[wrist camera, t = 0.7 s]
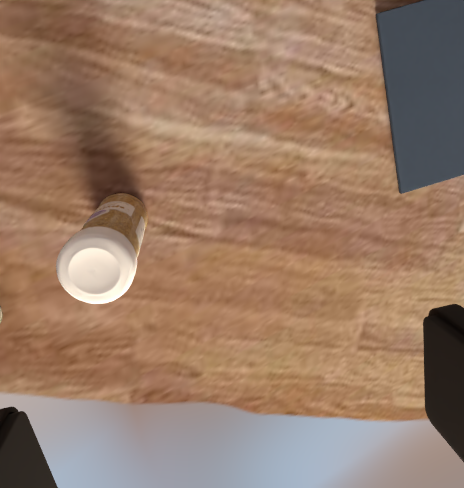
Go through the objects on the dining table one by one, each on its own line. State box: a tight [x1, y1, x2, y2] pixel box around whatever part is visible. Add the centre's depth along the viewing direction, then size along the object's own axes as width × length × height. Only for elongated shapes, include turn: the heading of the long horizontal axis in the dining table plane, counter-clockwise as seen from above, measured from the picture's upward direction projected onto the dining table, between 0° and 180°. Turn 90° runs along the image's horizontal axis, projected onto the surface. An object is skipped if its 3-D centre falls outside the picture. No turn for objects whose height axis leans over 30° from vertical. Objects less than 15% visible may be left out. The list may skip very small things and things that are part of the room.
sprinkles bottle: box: [56, 193, 148, 304], centre depth 30 cm, size 5×5×14 cm
